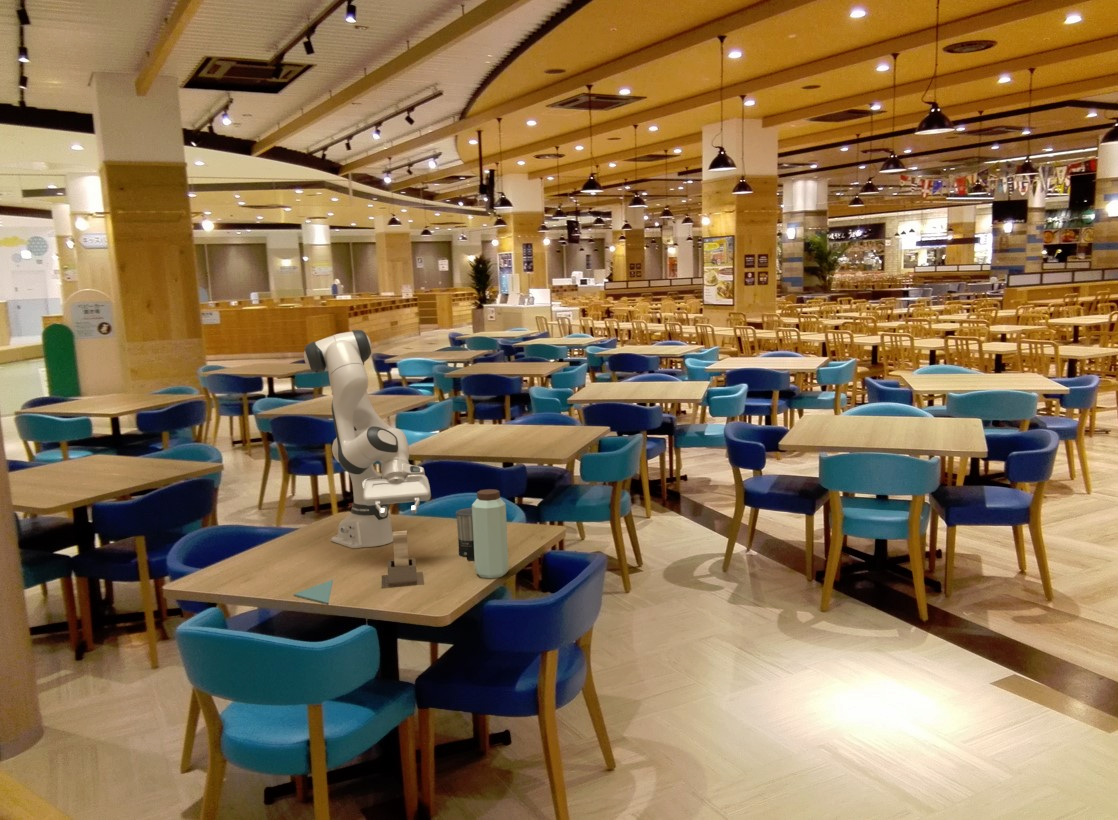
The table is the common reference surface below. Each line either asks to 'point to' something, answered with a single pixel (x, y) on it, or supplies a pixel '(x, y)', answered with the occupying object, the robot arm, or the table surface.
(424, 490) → the robot arm
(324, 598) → the teal mat
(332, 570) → the table surface
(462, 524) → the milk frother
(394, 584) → the tan hollow square block
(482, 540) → the water bottle
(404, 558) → the maple bar
